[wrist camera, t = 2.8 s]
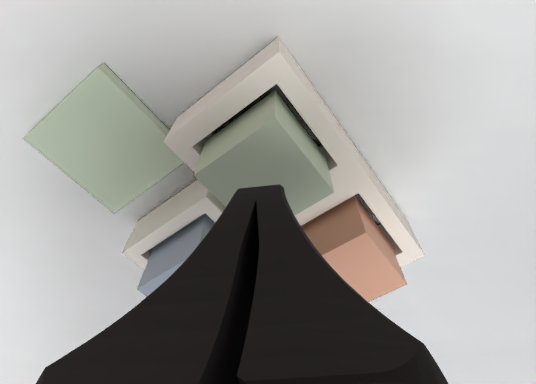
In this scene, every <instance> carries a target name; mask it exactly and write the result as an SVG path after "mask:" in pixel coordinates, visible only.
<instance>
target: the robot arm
mask: <svg viewBox="0 0 536 384" xmlns="http://www.w3.org/2000/svg"><path fill="white" fill-rule="evenodd" d="M36 384H448V382H447V381H446V379H445V377H444V375H443V373H442V372H441V370H440V368H439V367H438V365H437V363H436V362H435V360H434V359H433V357H432V355H431V354H430V352H429V351H428V349H427V348H426V346H425V345H424V344H423V343H422V342H420V341H419V340H417V339H416V338H415V337H413V336H412V335H410V334H409V333H407V332H406V331H404V330H403V329H402V328H400V327H399V326H398V325H396V324H395V323H394V322H392V321H391V320H390V319H388V318H387V317H386V316H384V315H383V314H382V313H381V312H379V311H378V310H377V309H376V308H375V307H373V306H372V305H371V304H370V303H368V302H367V301H366V300H365V299H364V298H363V297H362V296H361V295H360V294H359V293H357V292H356V291H355V290H354V289H353V288H352V287H351V286H350V285H349V284H348V283H347V282H345V281H344V280H343V279H342V278H341V276H340V275H339V274H338V273H337V272H336V271H335V270H334V269H333V268H332V267H331V266H330V265H329V263H328V262H327V261H326V260H325V259H324V258H323V257H322V255H321V254H320V253H319V252H318V250H317V249H316V248H315V246H314V245H313V244H312V242H311V241H310V239H309V238H308V237H307V235H306V234H305V232H304V231H303V229H302V228H301V226H300V224H299V222H298V221H297V219H296V217H295V216H294V214H293V212H292V210H291V208H290V206H289V203H288V201H287V199H286V196H285V192H284V187H283V186H281V185H280V184H278V185H268V186H259V187H249V188H239V189H238V190H237V191H236V192H235V193H234V195H233V197H232V198H231V200H230V201H229V203H228V205H227V206H226V208H225V209H224V211H223V212H222V214H221V215H220V217H219V218H218V220H217V221H216V222H215V224H214V225H213V227H212V228H211V229H210V231H209V232H208V234H207V235H206V236H205V237H204V239H203V240H202V241H201V242H200V244H199V245H198V246H197V247H196V249H195V250H194V251H193V252H192V253H191V255H190V256H189V257H188V258H187V259H186V260H185V261H184V262H183V264H182V265H181V266H180V267H179V268H178V269H177V270H176V271H175V272H174V273H173V274H172V275H171V276H170V277H169V278H168V279H167V280H166V281H165V282H164V283H162V284H161V285H160V286H159V287H158V288H157V289H155V290H154V291H153V292H152V293H151V294H150V295H149V296H147V297H146V298H145V299H144V300H143V301H142V302H141V303H139V304H138V305H137V306H136V307H134V308H133V309H132V310H131V311H129V312H128V313H127V314H125V315H124V316H123V317H121V318H120V319H119V320H117V321H116V322H115V323H113V324H112V325H110V326H109V327H108V328H106V329H105V330H104V331H102V332H101V333H99V334H98V335H96V336H95V337H93V338H92V339H90V340H89V341H87V342H86V343H84V344H82V345H81V346H79V347H78V348H76V349H75V350H73V351H71V352H70V353H68V354H67V355H65V356H64V357H62V358H60V359H59V360H57V361H56V362H54V363H52V364H51V365H49V366H47V367H46V368H45V369H44V371H43V372H42V374H41V376H40V378H39V379H38V381H37V383H36Z"/></svg>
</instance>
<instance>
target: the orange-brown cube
mask: <svg viewBox="0 0 536 384" xmlns="http://www.w3.org/2000/svg"><path fill="white" fill-rule="evenodd" d="M301 228H302V229H303V231H304V232H305V234H306V235H307V237H308V238H309V239H310V241H311V242H312V244H313V245H314V246H315V248H316V249H317V250H318V252H319V253H320V254H321V255H322V257H323V258H324V259H325V260H326V261H327V262H328V263H329V265H330V266H331V267H332V268H333V269H334V270H335V271H336V272H337V273H338V274H339V275H340V276H341V278H342V279H343V280H344V281H345V282H347V283H348V284H349V285H350V286H351V287H352V288H353V289H354V290H355V291H356V292H357V293H359V294H360V295H361V296H362V297H363V298H364V299H365V300H366V301H367V302H369V301H372V300H374V299H376V298H378V297H380V296H383V295H385V294H387V293H389V292H391V291H394V290H396V289H398V288H400V287H402V286H405V285H407V283H406V280H405V278H404V275H403V273H402V270H401V268H400V265H399V263H398V260H397V258H396V255H395V253H394V250H393V248H392V245H391V243H390V241H389V240H388V239H387V237H386V236H385V235H384V233H383V232H382V231H381V229H380V228H379V227H378V225H377V224H376V223H375V221H374V220H373V219H372V218H371V216H370V215H369V214H368V212H367V211H366V210H365V208H364V207H363V206H362V204H361V203H360V202H359V200H358V199H357V198H356V196H355V195H354V196H352V197H351V198H349V199H347V200H345V201H344V202H342V203H340V204H338V205H337V206H335V207H333V208H331V209H330V210H328V211H326V212H324V213H323V214H321V215H319V216H317V217H316V218H314V219H312V220H310V221H309V222H307V223H305V224H303V225H302V226H301Z"/></svg>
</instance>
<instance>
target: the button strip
mask: <svg viewBox="0 0 536 384" xmlns="http://www.w3.org/2000/svg"><path fill="white" fill-rule="evenodd" d="M276 84H277V85H278V86H279V87H280V89H281V90H282V91H283V93H284V94H285V95H286V97H287V98H288V99H289V101H290V102H291V103H292V105H293V106H294V107H295V109H296V110H297V111H298V113H299V114H300V115H301V117H302V118H303V119H304V121H305V122H306V123H307V125H308V126H309V127H310V129H311V130H312V131H313V133H314V134H315V135H316V137H317V138H318V139H319V141H320V142H321V143H322V145H320V146H318V148H319V149H320V150H321V152H322V153H323V154H324V156H325V157H326V161H327V165H328V169H329V173H330V177H331V181H332V185H333V189H334V193H332V194H331V195H329V196H327V197H326V198H324V199H322V200H320V201H319V202H317V203H315V204H314V205H312V206H310V207H308V208H307V209H305V210H303V211H302V212H300V213H298V214H297V215H295V217H296V219H297V221H298V222H299V224H300V226H302V225H303V224H305V223H307V222H309V221H310V220H312V219H314V218H316V217H317V216H319V215H321V214H323V213H324V212H326V211H328V210H330V209H331V208H333V207H335V206H337V205H338V204H340V203H342V202H344V201H345V200H347V199H349V198H351V197H352V196H354V195H356V194H358V193H359V194H360V195H361V197H362V198H363V200H364V201H365V202H366V204H367V205H368V206H369V208H370V209H371V210H372V212H373V213H374V214H375V216H376V217H377V218H378V220H379V221H380V222H381V224H380V225H378V227H379V228H380V229H381V231H382V232H383V233H384V235H385V236H386V237H387V239H388V240H389V241H390V243H391V245H392V248H393V250H394V253H395V255H396V258H397V260H398V263H399V265H400V267H402V266H404V265H406V264H409V263H411V262H413V261H415V260H417V259H419V258H421V257H423V256H425V255H424V253H423V251H422V249H421V247H420V245H419V243H418V241H417V239H416V237H415V235H414V233H413V231H412V229H411V227H410V225H409V223H408V221H407V220H406V218H405V217H404V216H403V214H402V213H401V211H400V210H399V208H398V207H397V206H396V204H395V203H394V201H393V200H392V198H391V197H390V196H389V194H388V193H387V191H386V190H385V188H384V187H383V186H382V184H381V183H380V181H379V180H378V178H377V177H376V176H375V174H374V173H373V171H372V170H371V168H370V167H369V166H368V164H367V163H366V161H365V160H364V158H363V157H362V156H361V154H360V153H359V151H358V150H357V148H356V147H355V146H354V144H353V143H352V141H351V140H350V138H349V137H348V135H347V134H346V133H345V131H344V130H343V128H342V127H341V125H340V124H339V123H338V121H337V120H336V118H335V117H334V115H333V114H332V113H331V111H330V110H329V108H328V107H327V105H326V104H325V103H324V101H323V100H322V98H321V97H320V95H319V94H318V93H317V91H316V90H315V88H314V87H313V85H312V84H311V83H310V81H309V80H308V78H307V77H306V75H305V74H304V73H303V71H302V70H301V68H300V67H299V65H298V64H297V63H296V61H295V60H294V58H293V57H292V55H291V54H290V53H289V51H288V50H287V48H286V47H285V45H284V44H283V42H282V41H281V40H280V38H279V37H277V38H276V39H275V40H274V41H272V42H271V43H270V44H269V45H267V46H266V47H265V48H264V49H262V50H261V51H260V52H259V53H257V54H256V55H255V56H254V57H252V58H251V59H250V60H249V61H247V62H246V63H245V64H244V65H242V66H241V67H240V68H239V69H237V70H236V71H235V72H234V73H232V74H231V75H230V76H229V77H227V78H226V79H225V80H224V81H222V82H221V83H220V84H218V85H217V86H216V87H215V88H213V89H212V90H211V91H210V92H208V93H207V94H206V95H205V96H203V97H202V98H201V99H200V100H198V101H197V102H196V103H195V104H193V105H192V106H191V107H190V108H188V109H187V110H186V111H185V112H183V113H182V114H181V115H180V116H178V117H177V119H176V120H175V122H174V124H173V126H172V128H171V129H170V131H169V133H168V135H167V136H166V138H165V140H164V143H165V144H166V145H167V146H168V147H169V148H170V149H171V150H172V151H173V152H174V153H175V154H176V155H177V156H178V157H179V158H180V159H181V160H182V161H183V162H184V163H185V164H186V165H187V166H188V167H189V168H190V169H191V170H192V171H193V172H194V173H195V170H196V167H197V164H198V161H199V159H200V156H201V153H202V150H203V147H204V144H205V141H207V140H208V139H209V138H211V137H212V136H214V135H213V134H212V133H211V132H213V131H214V130H215V129H217V128H218V127H219V126H221V125H222V124H223V123H225V122H226V121H227V120H229V119H230V118H231V117H233V116H234V115H235V114H237V113H238V112H239V111H241V110H242V109H243V108H245V107H246V106H247V105H249V104H250V103H251V102H253V101H254V100H255V99H257V98H258V97H259V96H261V95H262V94H264V93H265V92H266V91H268V90H269V89H270V88H272V87H273V86H274V85H276Z"/></svg>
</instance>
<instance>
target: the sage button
mask: <svg viewBox="0 0 536 384" xmlns="http://www.w3.org/2000/svg"><path fill="white" fill-rule="evenodd" d="M194 176H195V177H196V178H197V179H198V180H199V181H200V182H201V183H202V184H203V185H204V186H205V187H206V188H207V189H208V190H209V191H210V192H211V193H212V194H213V195H214V196H215V197H216V198H217V199H218V200H219V201H220V202H221V203H222V204H223V205H224V206H225V207H226V206H227V205H228V203H229V201H230V200H231V198H232V197H233V195H234V193H235V192H236V191H237V190H238V189H239V188H249V187H259V186H268V185H278V184H280V185H281V186H283V187H284V192H285V196H286V199H287V201H288V203H289V206H290V208H291V210H292V212H293V214H294V216H295V215H297V214H298V213H300V212H302V211H303V210H305V209H307V208H308V207H310V206H312V205H314V204H315V203H317V202H319V201H320V200H322V199H324V198H326V197H327V196H329V195H331V194H332V193H334V189H333V185H332V181H331V177H330V173H329V169H328V165H327V161H326V157H325V156H324V154H323V153H322V152H321V150H320V149H319V148H318V146H317V145H316V144H315V142H314V141H313V140H312V138H311V137H310V136H309V134H308V133H307V132H306V131H305V129H304V128H303V127H302V125H301V124H300V123H299V121H298V120H297V119H296V117H295V116H294V115H293V113H292V112H291V111H290V109H289V108H288V107H287V105H286V104H285V103H284V102H283V100H282V99H281V98H280V96H279V95H278V94H277V92H276V91H275V90H274V91H273V92H272V93H270V94H269V95H268V96H266V97H265V98H264V99H262V100H261V101H260V102H258V103H257V104H255V105H254V106H253V107H251V108H250V109H249V110H247V111H246V112H245V113H243V114H242V115H241V116H239V117H238V118H237V119H235V120H234V121H232V122H231V123H230V124H228V125H227V126H226V127H224V128H223V129H222V130H220V131H219V132H218V133H216V134H215V135H214V136H212V137H211V138H209V139H208V140H207V141H205V144H204V147H203V150H202V153H201V156H200V159H199V161H198V164H197V167H196V170H195V173H194Z"/></svg>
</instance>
